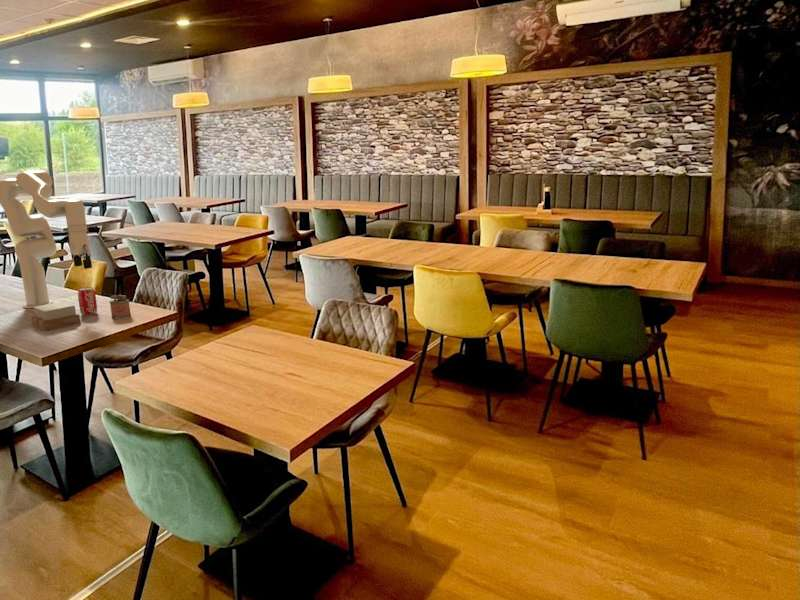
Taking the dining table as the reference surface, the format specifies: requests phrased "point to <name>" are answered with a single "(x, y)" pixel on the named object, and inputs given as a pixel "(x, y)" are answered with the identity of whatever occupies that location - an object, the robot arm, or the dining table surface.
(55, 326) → the tower base
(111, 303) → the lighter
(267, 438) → the dining table surface
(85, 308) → the soda can
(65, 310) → the tower top
